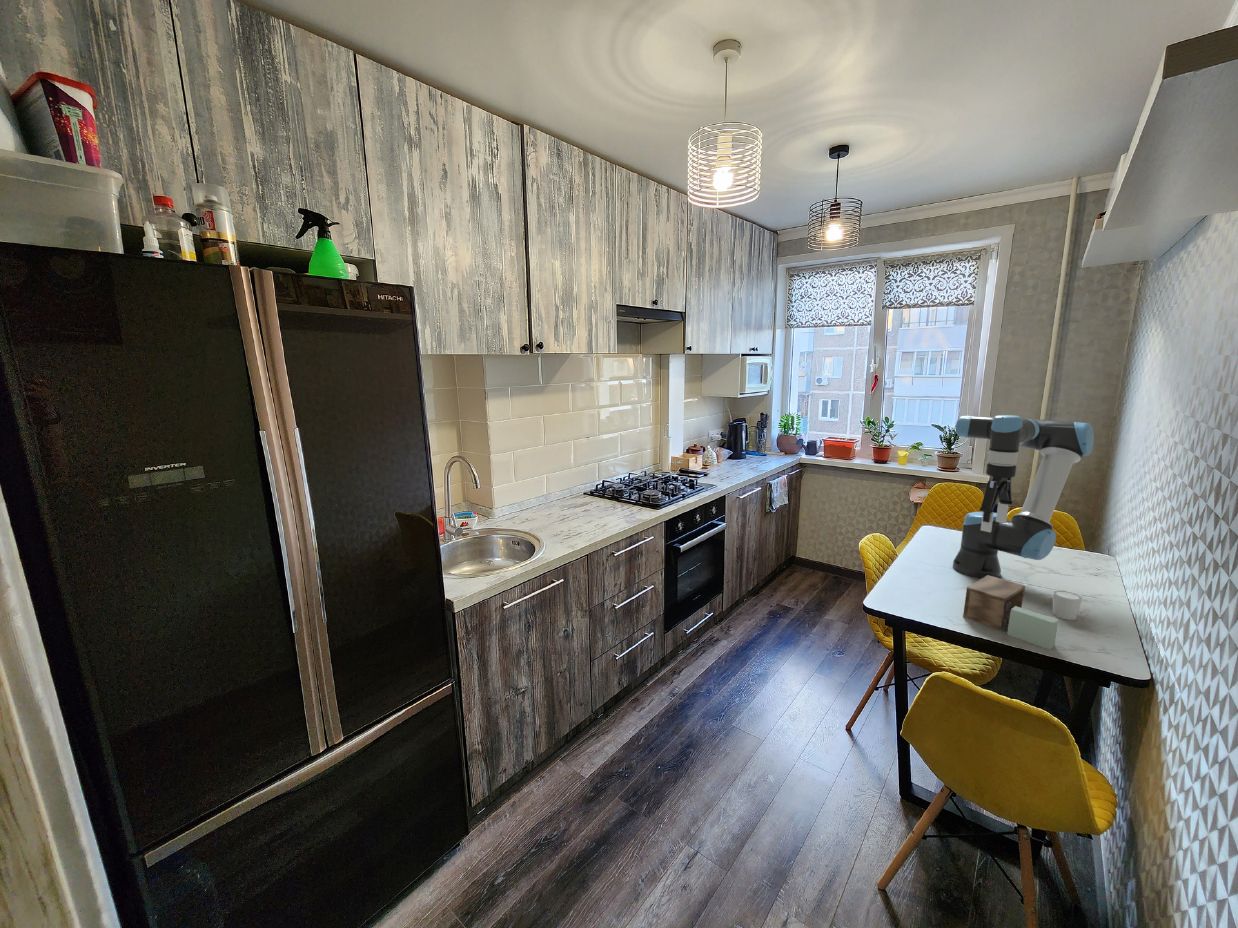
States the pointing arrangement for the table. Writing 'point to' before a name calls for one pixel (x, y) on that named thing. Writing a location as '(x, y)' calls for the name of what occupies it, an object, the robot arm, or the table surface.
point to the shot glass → (1066, 604)
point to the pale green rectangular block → (1033, 627)
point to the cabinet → (992, 601)
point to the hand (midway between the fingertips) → (993, 526)
